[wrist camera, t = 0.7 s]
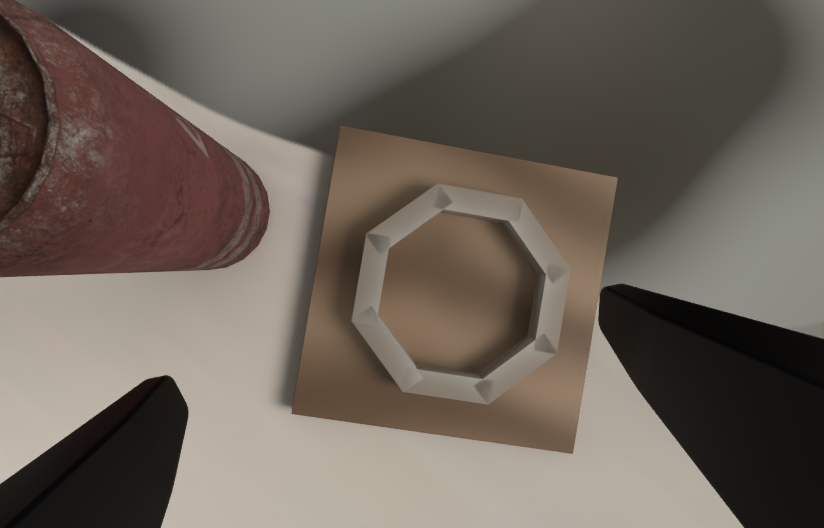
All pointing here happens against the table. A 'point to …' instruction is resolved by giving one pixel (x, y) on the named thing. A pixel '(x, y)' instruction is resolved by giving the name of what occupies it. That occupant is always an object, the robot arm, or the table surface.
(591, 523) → the table surface
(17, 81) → the can
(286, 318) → the table surface
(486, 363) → the cup holder
